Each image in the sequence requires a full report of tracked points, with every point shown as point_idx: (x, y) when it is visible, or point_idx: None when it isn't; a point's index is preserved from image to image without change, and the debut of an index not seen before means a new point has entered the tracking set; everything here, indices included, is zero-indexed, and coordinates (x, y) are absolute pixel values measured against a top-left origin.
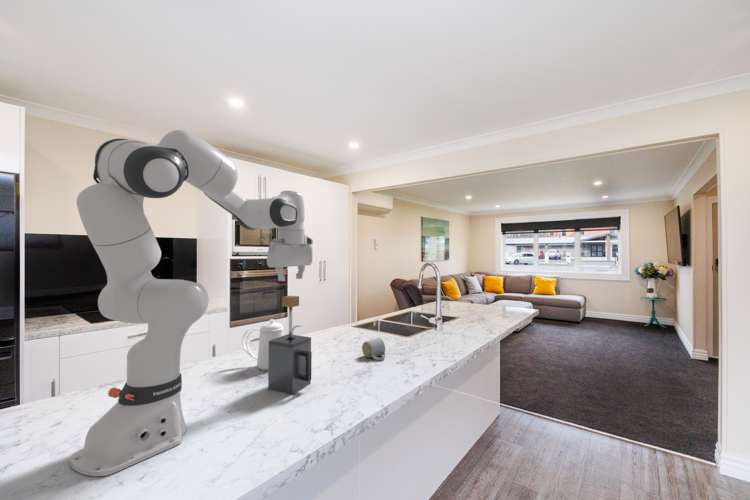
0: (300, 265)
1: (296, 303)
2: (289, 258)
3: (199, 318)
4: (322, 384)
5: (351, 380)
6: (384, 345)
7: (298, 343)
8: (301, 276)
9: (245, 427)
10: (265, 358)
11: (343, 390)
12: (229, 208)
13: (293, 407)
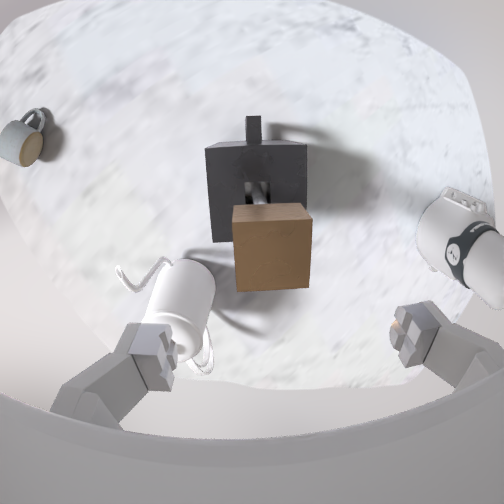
0: (159, 437)
1: (258, 208)
2: (501, 477)
3: None
4: (208, 118)
5: (159, 81)
6: (10, 122)
7: (276, 144)
8: (139, 333)
9: (401, 138)
10: (210, 289)
11: (214, 64)
12: None
13: (324, 105)
